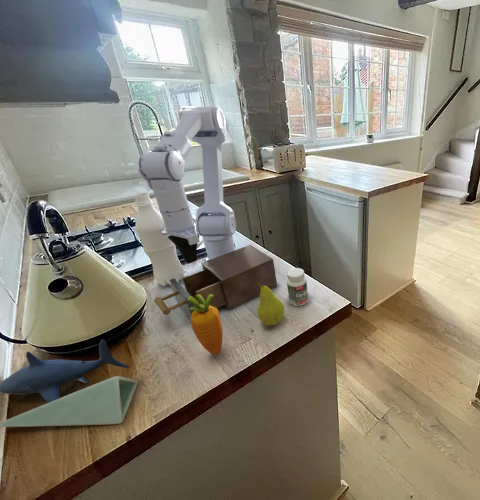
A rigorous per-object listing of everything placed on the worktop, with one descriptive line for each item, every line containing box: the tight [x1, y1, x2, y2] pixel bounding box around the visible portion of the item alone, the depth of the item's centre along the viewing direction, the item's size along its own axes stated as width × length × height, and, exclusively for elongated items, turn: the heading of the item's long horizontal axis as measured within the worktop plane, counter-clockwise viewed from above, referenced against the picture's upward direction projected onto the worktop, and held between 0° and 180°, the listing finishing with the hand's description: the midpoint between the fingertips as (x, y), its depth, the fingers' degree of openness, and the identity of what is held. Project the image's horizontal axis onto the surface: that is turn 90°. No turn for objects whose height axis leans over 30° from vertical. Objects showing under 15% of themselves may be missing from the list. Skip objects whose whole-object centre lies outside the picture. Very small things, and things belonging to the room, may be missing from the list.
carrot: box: [187, 294, 224, 357], centre depth 56 cm, size 5×5×15 cm
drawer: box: [153, 268, 227, 319], centre depth 70 cm, size 17×10×7 cm, turn 136°
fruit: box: [256, 282, 285, 326], centre depth 65 cm, size 6×6×12 cm
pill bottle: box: [286, 267, 309, 307], centre depth 72 cm, size 5×5×8 cm
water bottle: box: [133, 192, 185, 287], centre depth 77 cm, size 7×7×25 cm
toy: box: [0, 338, 130, 404], centre depth 51 cm, size 10×22×10 cm, turn 96°
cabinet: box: [201, 244, 278, 311], centre depth 77 cm, size 14×12×9 cm
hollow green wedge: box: [0, 375, 139, 428], centre depth 47 cm, size 8×6×18 cm
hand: (191, 261), depth 72 cm, fingers closed
